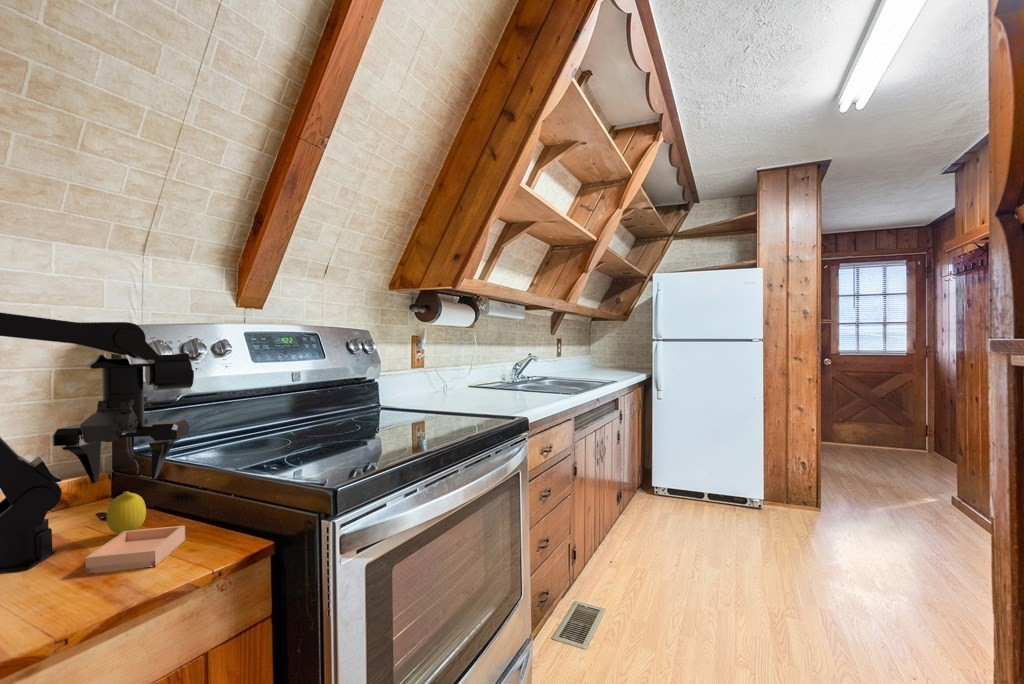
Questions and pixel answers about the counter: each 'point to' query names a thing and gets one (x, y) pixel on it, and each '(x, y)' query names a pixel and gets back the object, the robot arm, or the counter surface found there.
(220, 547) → the counter surface
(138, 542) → the dish
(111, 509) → the lemon
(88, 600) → the counter surface
